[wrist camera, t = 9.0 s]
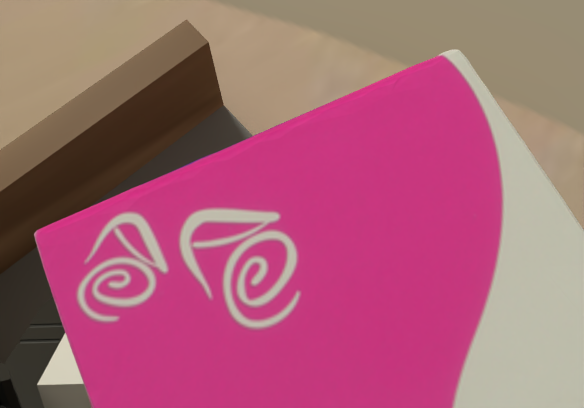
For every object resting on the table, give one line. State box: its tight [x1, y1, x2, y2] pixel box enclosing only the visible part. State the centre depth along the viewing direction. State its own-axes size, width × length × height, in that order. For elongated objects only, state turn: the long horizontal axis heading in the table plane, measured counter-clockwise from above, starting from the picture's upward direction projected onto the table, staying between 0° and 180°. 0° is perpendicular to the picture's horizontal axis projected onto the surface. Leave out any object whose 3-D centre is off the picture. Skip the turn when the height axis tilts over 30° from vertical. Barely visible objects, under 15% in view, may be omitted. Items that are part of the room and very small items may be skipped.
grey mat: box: [0, 105, 252, 364], centre depth 19 cm, size 16×14×1 cm
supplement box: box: [34, 50, 584, 408], centre depth 10 cm, size 6×6×12 cm
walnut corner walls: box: [0, 20, 223, 274], centre depth 17 cm, size 16×14×5 cm
